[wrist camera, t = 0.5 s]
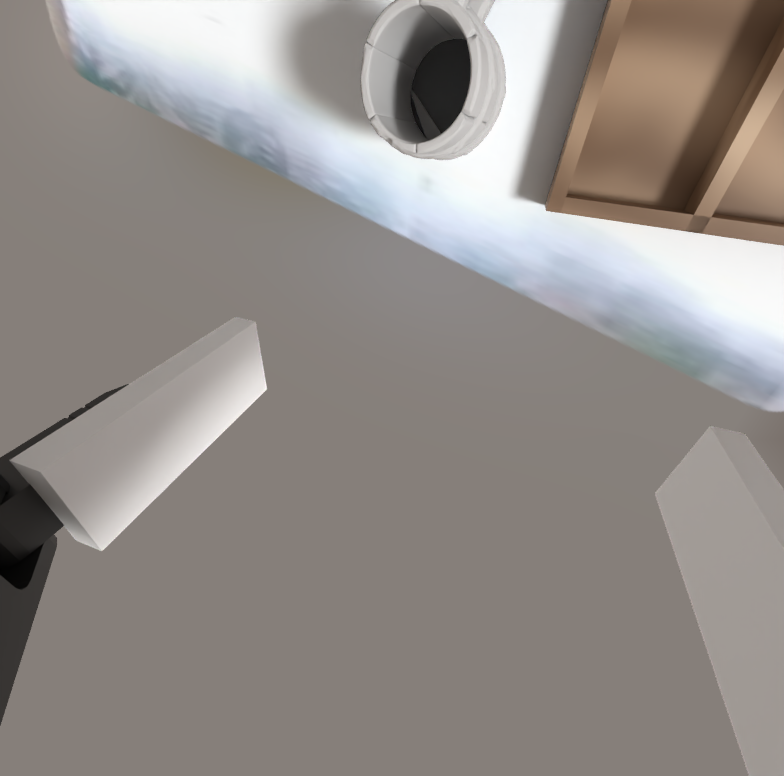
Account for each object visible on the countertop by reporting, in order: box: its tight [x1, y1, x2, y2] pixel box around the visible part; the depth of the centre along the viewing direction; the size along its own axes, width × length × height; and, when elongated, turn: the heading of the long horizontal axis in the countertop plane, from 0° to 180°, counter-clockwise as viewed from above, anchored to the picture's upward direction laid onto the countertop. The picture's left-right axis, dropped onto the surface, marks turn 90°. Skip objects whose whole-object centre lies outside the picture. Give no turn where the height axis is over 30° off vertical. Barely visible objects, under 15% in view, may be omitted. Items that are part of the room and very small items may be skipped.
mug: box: [361, 0, 506, 160], centre depth 20 cm, size 8×12×12 cm, turn 154°
